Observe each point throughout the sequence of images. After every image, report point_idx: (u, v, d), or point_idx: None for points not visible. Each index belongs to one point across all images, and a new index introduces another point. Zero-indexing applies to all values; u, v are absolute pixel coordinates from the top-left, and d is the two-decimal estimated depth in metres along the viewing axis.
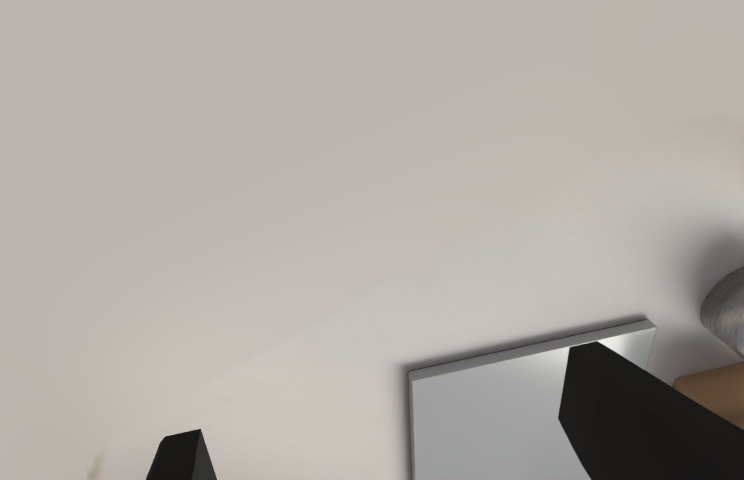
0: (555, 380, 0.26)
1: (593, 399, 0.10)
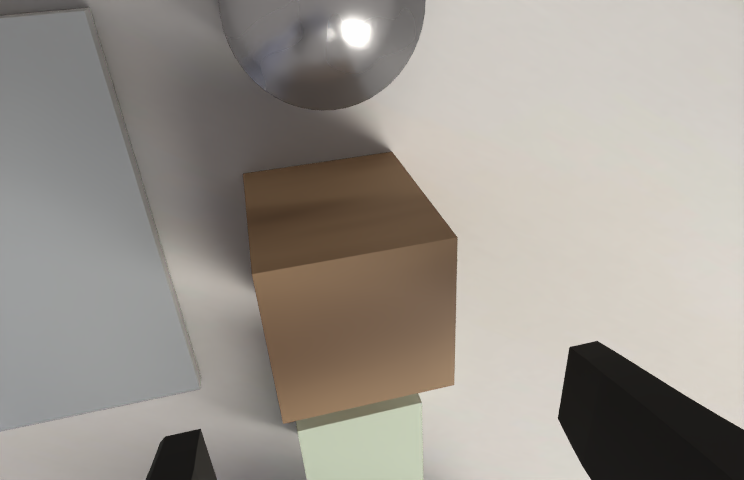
0: None
1: (593, 399, 0.10)
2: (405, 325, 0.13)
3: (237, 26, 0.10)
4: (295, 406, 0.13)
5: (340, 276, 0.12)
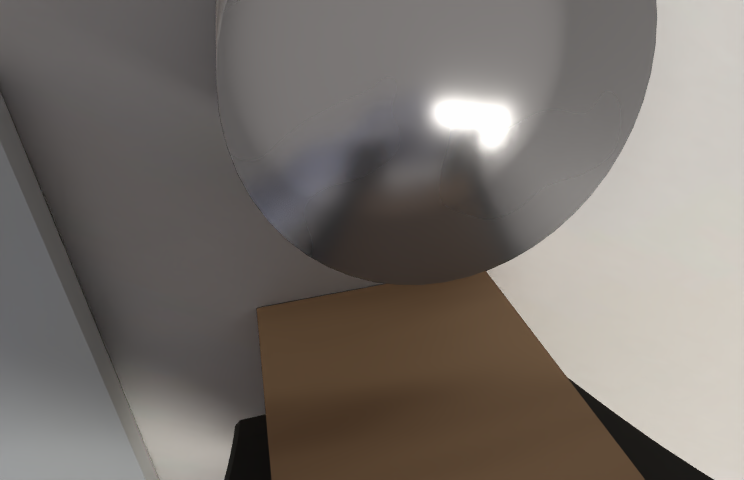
0: None
1: None
2: None
3: (258, 136, 0.05)
4: None
5: None
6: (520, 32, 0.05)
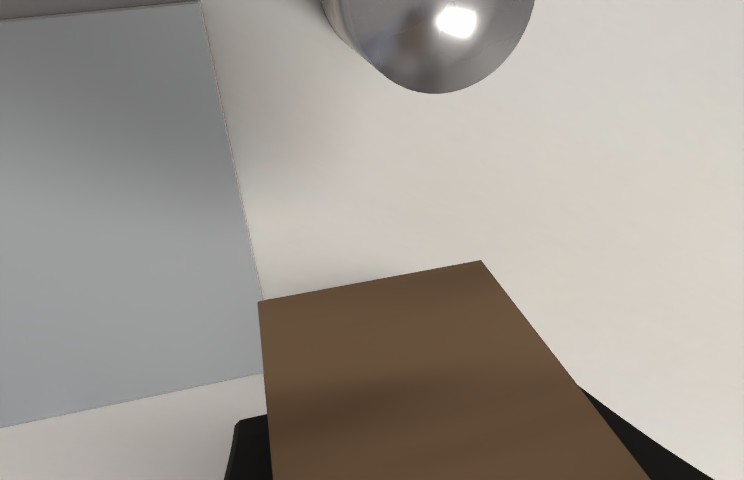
0: (9, 112, 0.13)
1: None
2: None
3: (363, 7, 0.11)
4: None
5: None
6: None
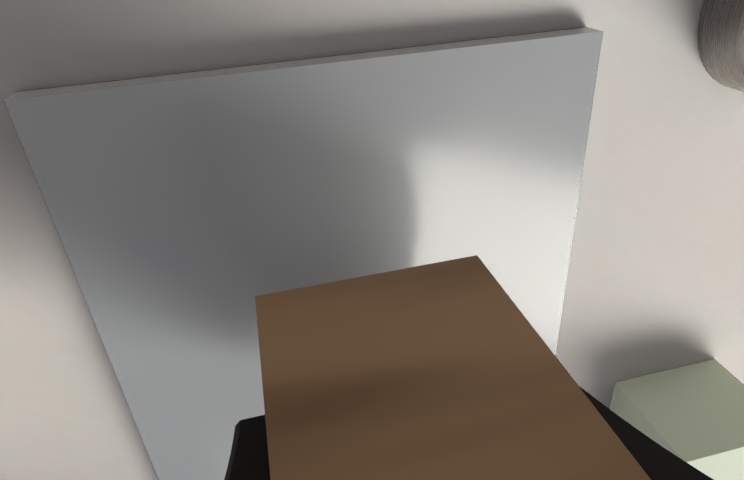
0: (386, 150, 0.12)
1: None
2: None
3: None
4: None
5: None
6: None
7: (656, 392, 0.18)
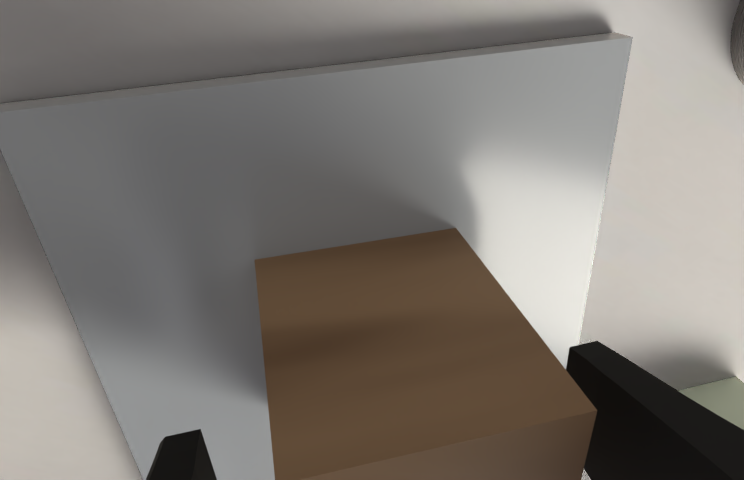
0: (399, 165, 0.11)
1: (593, 399, 0.10)
2: None
3: None
4: None
5: (415, 475, 0.07)
6: None
7: None
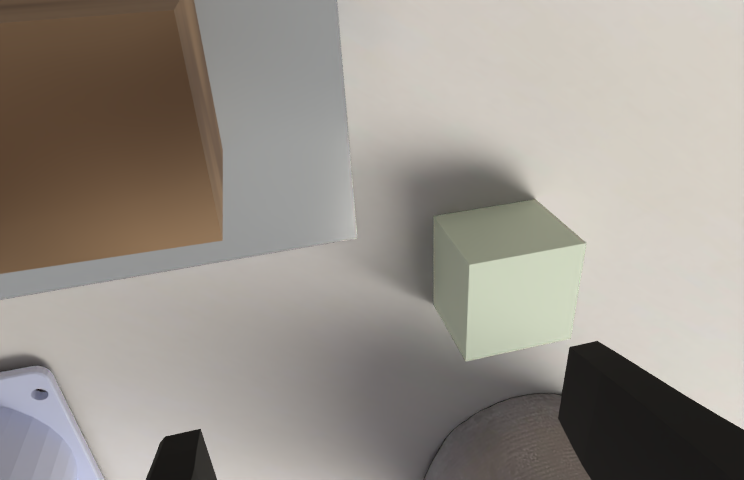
0: None
1: (593, 399, 0.10)
2: (130, 141, 0.10)
3: None
4: None
5: (11, 52, 0.09)
6: None
7: (468, 221, 0.19)
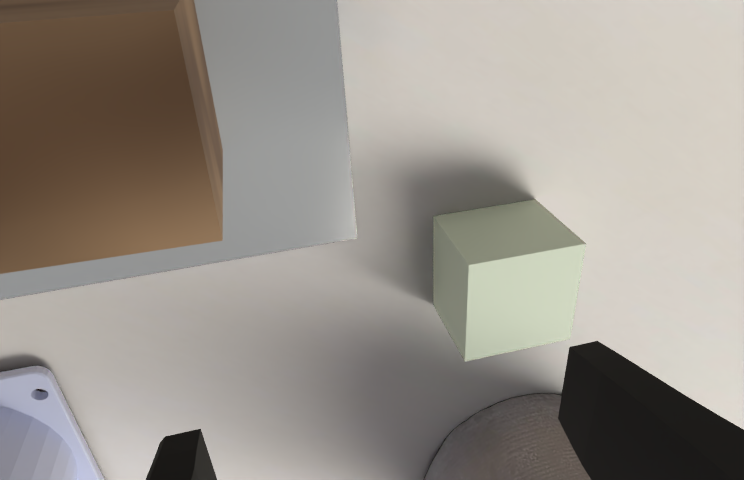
0: None
1: (593, 399, 0.10)
2: (130, 141, 0.10)
3: None
4: None
5: (11, 52, 0.09)
6: None
7: (468, 221, 0.19)
